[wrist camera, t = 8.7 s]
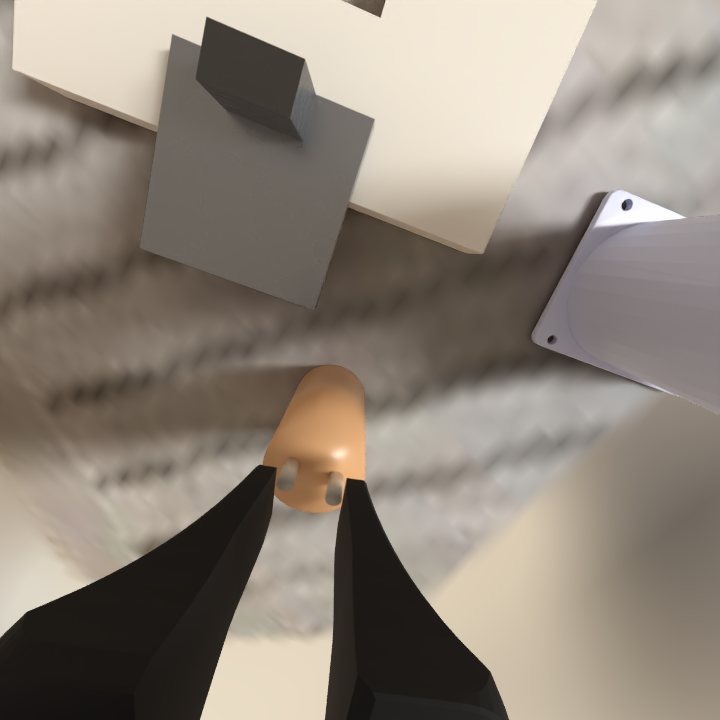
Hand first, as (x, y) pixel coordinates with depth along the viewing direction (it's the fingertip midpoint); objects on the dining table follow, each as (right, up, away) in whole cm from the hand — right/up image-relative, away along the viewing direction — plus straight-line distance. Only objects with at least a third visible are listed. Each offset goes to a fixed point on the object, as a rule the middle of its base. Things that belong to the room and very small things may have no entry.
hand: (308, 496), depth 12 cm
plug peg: (0, +3, +8) cm, 8 cm away
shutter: (-3, +12, +2) cm, 12 cm away
